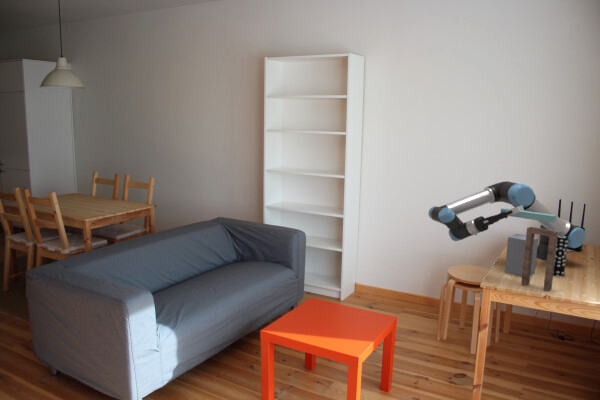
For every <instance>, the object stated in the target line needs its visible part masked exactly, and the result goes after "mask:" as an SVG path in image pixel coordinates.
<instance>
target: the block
mask: <svg viewBox="0 0 600 400" xmlns="http://www.w3.org/2000/svg"><path fill="white" fill-rule="evenodd" d="M525 244H526V235H525V234H519V233H516V234H513V235H509V236H508V237H507V244H506V258H505V266H504V267H505V269H504V273H506V274H509V275H515V276H518V277H522V273H523V263H524V253H525ZM538 244H539V237H536V236H534V245H533V255H532V264H531V274H530V276H533V275H535V272H536V265H537V257H536V255H537V246H538Z"/></svg>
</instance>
